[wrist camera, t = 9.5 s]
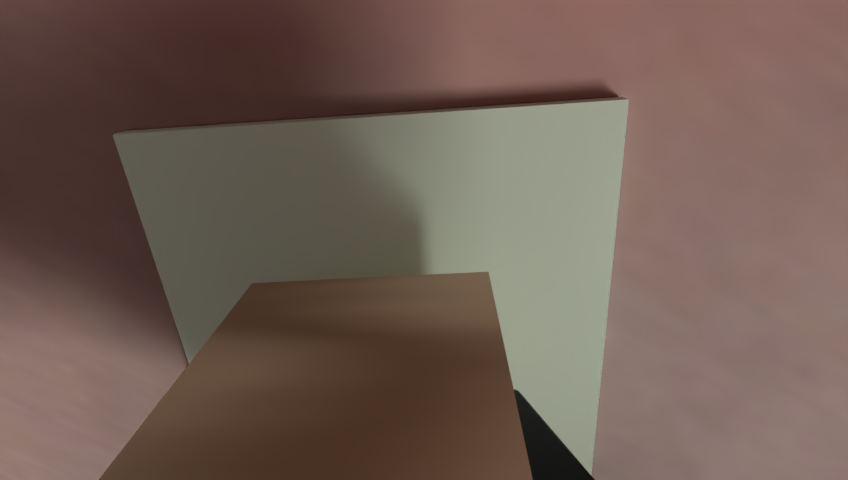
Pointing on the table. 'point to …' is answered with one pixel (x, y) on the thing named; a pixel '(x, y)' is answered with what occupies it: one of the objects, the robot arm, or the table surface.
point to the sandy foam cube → (342, 388)
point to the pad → (403, 222)
